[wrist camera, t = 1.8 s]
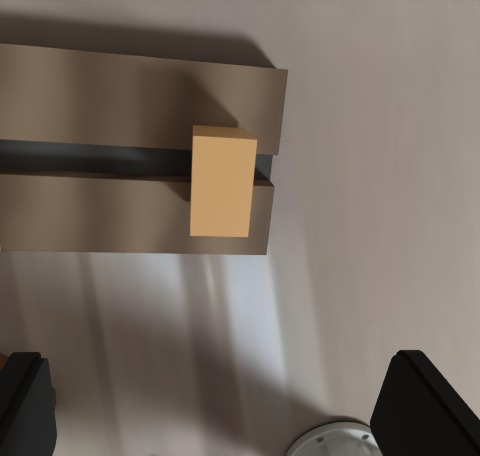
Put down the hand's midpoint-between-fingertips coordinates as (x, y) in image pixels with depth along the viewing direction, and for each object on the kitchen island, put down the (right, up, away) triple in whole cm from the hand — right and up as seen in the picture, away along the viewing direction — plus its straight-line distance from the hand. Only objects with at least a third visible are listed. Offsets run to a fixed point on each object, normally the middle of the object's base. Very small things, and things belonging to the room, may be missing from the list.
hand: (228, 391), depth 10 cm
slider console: (-10, +10, +18) cm, 23 cm away
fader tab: (-2, +9, +18) cm, 21 cm away
